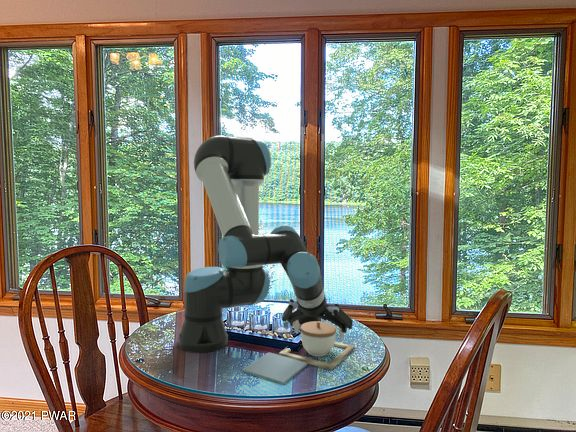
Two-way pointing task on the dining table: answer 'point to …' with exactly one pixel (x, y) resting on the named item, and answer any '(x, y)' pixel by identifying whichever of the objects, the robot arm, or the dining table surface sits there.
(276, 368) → the rubber mat
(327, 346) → the lidded jar
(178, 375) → the dining table surface
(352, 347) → the birch frame
